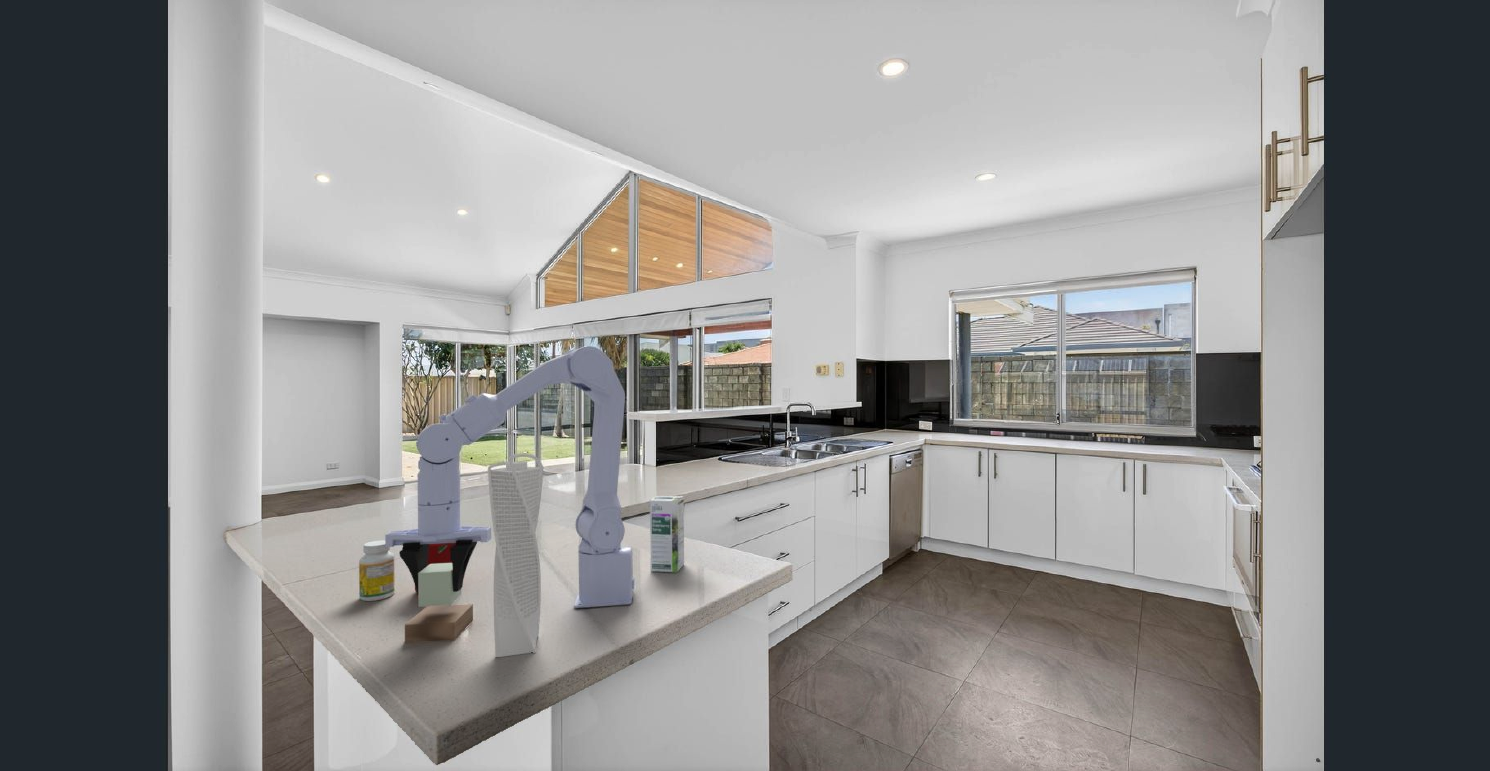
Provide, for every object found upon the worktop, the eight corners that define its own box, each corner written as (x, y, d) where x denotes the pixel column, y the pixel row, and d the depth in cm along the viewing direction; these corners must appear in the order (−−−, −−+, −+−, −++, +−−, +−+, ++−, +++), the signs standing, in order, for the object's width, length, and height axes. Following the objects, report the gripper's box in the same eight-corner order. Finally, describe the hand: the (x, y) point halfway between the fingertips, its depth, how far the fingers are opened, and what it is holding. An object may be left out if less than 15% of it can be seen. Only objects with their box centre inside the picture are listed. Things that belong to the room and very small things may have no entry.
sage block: (461, 593, 89) (460, 562, 89) (450, 604, 85) (450, 571, 85) (430, 595, 88) (430, 563, 88) (418, 606, 84) (418, 573, 84)
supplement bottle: (391, 599, 100) (391, 544, 100) (355, 603, 98) (355, 548, 98) (397, 589, 105) (396, 537, 105) (363, 593, 103) (362, 541, 103)
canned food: (442, 599, 100) (442, 537, 100) (403, 596, 101) (403, 535, 101) (472, 584, 107) (471, 526, 107) (435, 582, 109) (434, 525, 109)
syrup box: (649, 572, 113) (648, 499, 113) (658, 563, 119) (658, 494, 119) (677, 573, 112) (676, 500, 112) (685, 564, 118) (684, 494, 118)
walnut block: (473, 622, 90) (472, 604, 90) (454, 642, 83) (454, 622, 83) (427, 625, 90) (427, 606, 90) (404, 645, 83) (404, 624, 83)
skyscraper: (543, 655, 78) (541, 453, 78) (484, 664, 76) (483, 455, 76) (546, 632, 85) (544, 447, 86) (493, 639, 83) (491, 449, 83)
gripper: (374, 509, 81) (375, 603, 81) (481, 505, 84) (482, 596, 84) (397, 499, 88) (397, 586, 88) (494, 496, 91) (495, 580, 91)
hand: (439, 590), depth 86 cm, fingers closed on sage block, 4 cm apart
